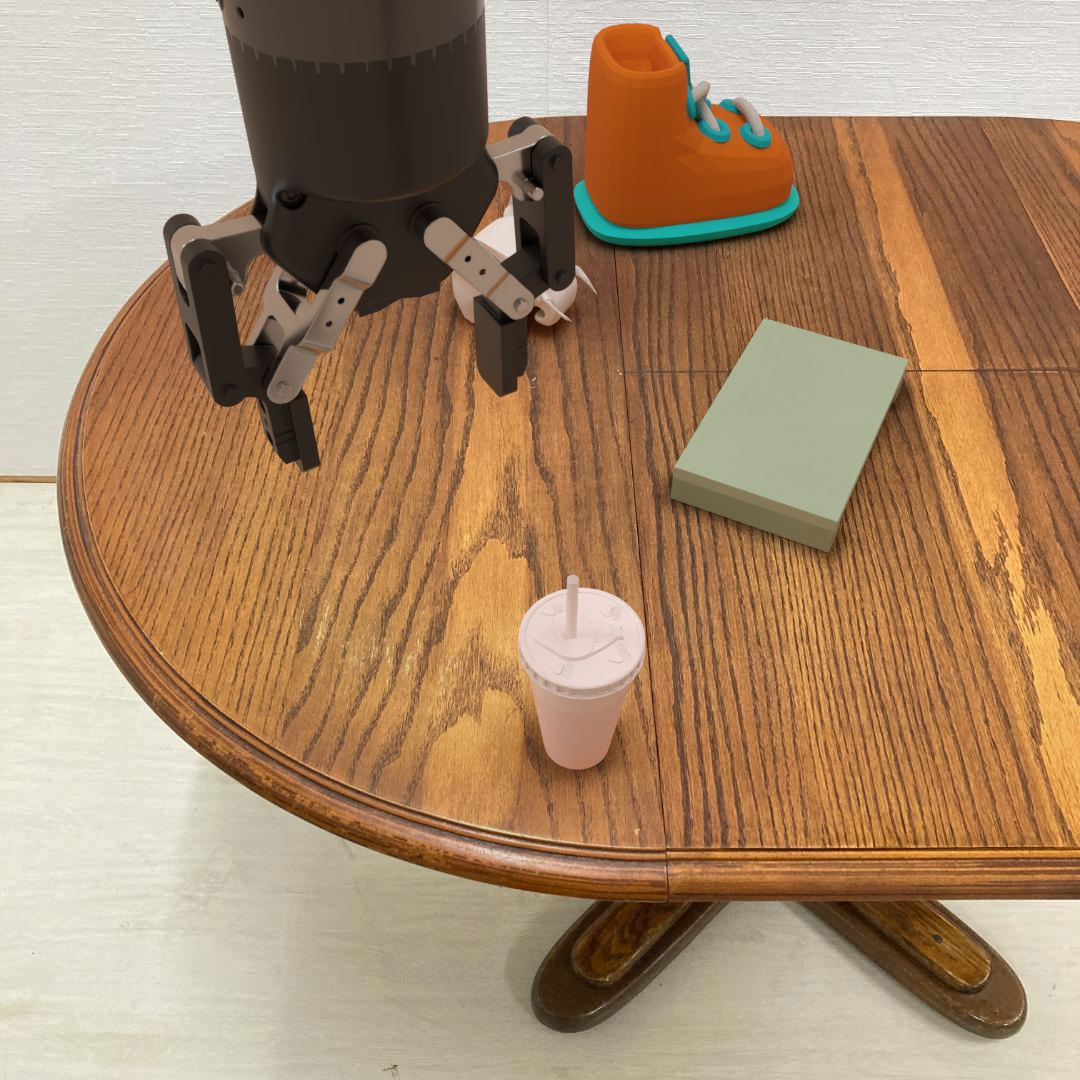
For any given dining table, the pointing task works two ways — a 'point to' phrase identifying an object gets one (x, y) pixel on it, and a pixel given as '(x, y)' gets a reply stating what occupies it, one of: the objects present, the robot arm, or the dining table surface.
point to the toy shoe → (673, 150)
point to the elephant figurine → (502, 246)
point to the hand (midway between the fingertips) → (403, 419)
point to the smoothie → (580, 669)
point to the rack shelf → (789, 433)
